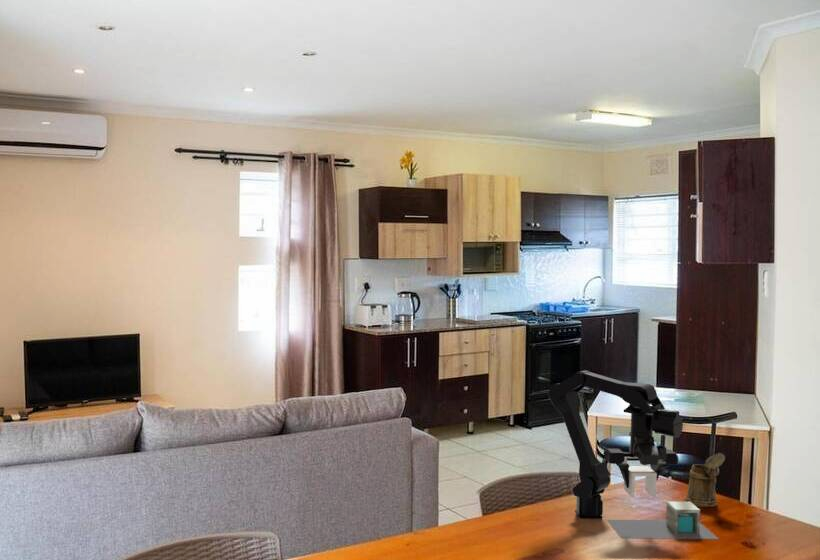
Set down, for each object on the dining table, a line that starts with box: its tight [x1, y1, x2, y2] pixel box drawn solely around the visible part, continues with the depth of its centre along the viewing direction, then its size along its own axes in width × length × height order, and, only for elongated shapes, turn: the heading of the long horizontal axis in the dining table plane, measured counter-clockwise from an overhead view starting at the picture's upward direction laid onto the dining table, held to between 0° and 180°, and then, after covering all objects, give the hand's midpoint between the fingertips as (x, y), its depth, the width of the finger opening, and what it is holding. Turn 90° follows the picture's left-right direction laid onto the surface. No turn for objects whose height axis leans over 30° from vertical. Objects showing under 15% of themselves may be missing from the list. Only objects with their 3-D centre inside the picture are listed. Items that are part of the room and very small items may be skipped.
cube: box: [678, 512, 693, 532], centre depth 207 cm, size 4×4×4 cm
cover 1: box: [623, 465, 658, 498], centre depth 206 cm, size 7×7×6 cm
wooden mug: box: [684, 451, 726, 508], centre depth 228 cm, size 9×14×18 cm, turn 10°
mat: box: [606, 519, 719, 540], centre depth 207 cm, size 26×14×1 cm, turn 91°
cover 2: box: [665, 501, 701, 534], centre depth 207 cm, size 7×7×6 cm
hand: (639, 487), depth 206 cm, fingers closed on cover 1, 7 cm apart
